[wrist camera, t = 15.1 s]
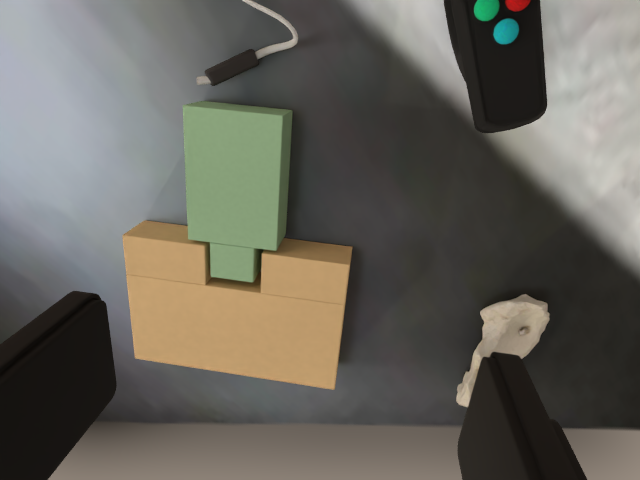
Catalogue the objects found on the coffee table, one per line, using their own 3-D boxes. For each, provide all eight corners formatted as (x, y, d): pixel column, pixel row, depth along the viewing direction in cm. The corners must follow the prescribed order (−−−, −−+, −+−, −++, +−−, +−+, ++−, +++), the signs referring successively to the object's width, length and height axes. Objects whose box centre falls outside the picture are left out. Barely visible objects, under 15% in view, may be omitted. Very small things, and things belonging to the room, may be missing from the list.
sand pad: (352, 246, 36) (349, 264, 32) (338, 363, 40) (334, 390, 37) (144, 219, 37) (121, 234, 34) (153, 335, 42) (134, 358, 39)
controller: (492, -100, 26) (554, -187, 17) (518, 107, 30) (578, 128, 21) (420, -73, 27) (441, -142, 18) (455, 124, 31) (486, 151, 22)
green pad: (293, 109, 32) (283, 115, 29) (284, 266, 37) (275, 286, 34) (201, 100, 33) (182, 105, 29) (205, 256, 38) (189, 274, 34)
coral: (552, 292, 35) (575, 323, 31) (507, 391, 39) (522, 430, 35) (483, 277, 35) (496, 306, 31) (445, 377, 39) (453, 414, 35)
